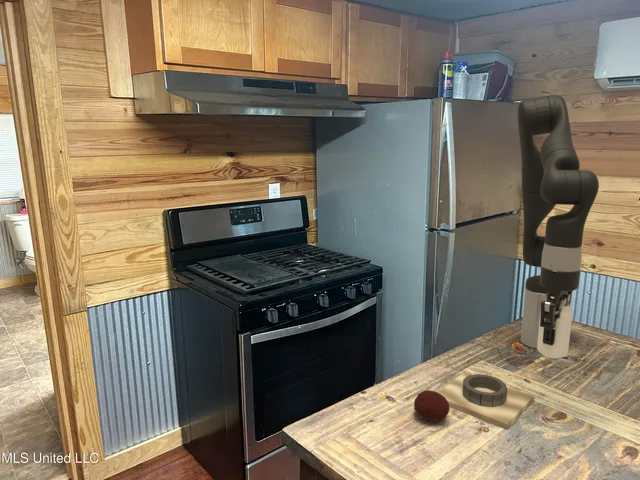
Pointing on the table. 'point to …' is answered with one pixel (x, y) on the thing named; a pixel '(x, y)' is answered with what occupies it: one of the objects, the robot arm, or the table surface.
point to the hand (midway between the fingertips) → (553, 338)
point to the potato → (431, 405)
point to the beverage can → (557, 336)
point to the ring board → (488, 412)
